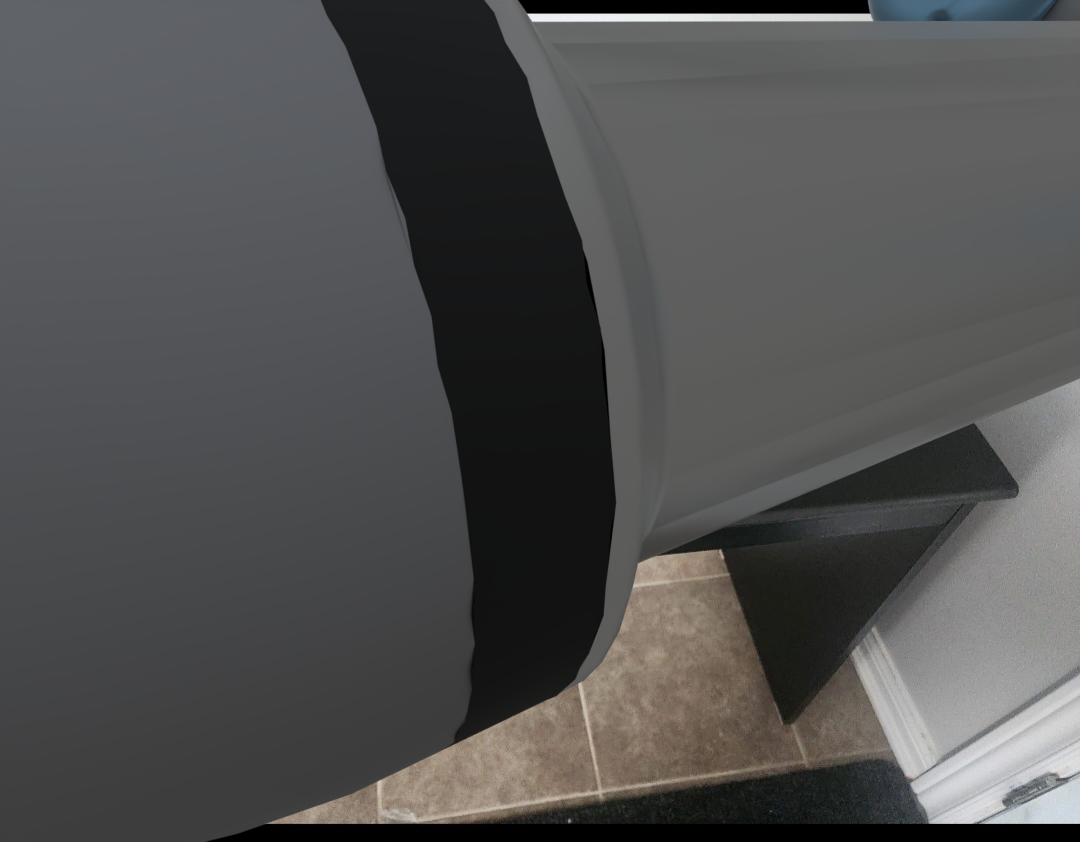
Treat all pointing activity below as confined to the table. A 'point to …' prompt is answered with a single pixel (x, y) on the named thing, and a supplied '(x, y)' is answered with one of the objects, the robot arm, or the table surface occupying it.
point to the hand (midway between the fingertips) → (594, 335)
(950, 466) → the table surface
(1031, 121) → the robot arm
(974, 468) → the table surface
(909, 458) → the table surface
